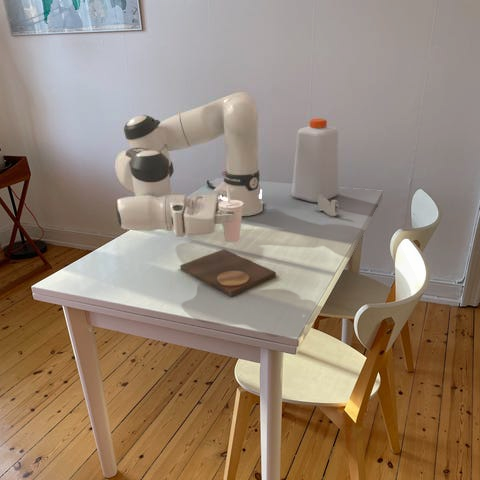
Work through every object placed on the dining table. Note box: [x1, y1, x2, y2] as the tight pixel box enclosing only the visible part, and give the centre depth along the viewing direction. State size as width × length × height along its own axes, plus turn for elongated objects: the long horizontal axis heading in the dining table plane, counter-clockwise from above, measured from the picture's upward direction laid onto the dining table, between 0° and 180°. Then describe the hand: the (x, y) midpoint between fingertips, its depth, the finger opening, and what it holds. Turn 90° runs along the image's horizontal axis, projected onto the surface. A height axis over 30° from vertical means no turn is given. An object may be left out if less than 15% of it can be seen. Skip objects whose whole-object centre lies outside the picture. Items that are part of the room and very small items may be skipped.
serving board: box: [180, 248, 277, 298], centre depth 137 cm, size 22×16×2 cm
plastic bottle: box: [291, 118, 339, 204], centre depth 186 cm, size 15×15×28 cm
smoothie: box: [218, 186, 244, 244], centre depth 125 cm, size 6×6×14 cm
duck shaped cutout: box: [317, 195, 340, 217], centre depth 174 cm, size 6×1×10 cm
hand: (234, 211), depth 125 cm, fingers closed on smoothie, 6 cm apart
